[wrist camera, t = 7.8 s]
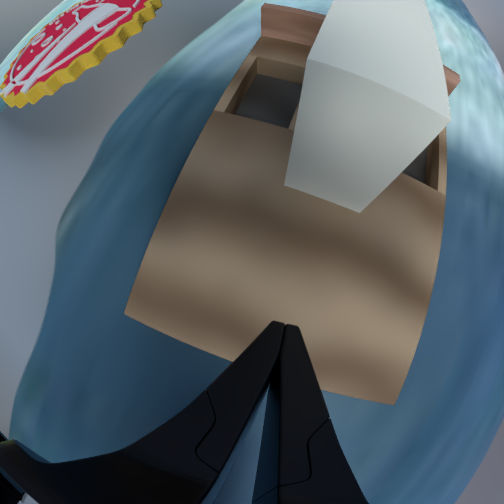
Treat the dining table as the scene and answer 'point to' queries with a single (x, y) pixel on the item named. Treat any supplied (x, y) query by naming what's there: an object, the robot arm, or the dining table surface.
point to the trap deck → (292, 236)
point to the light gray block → (367, 100)
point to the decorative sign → (73, 46)
